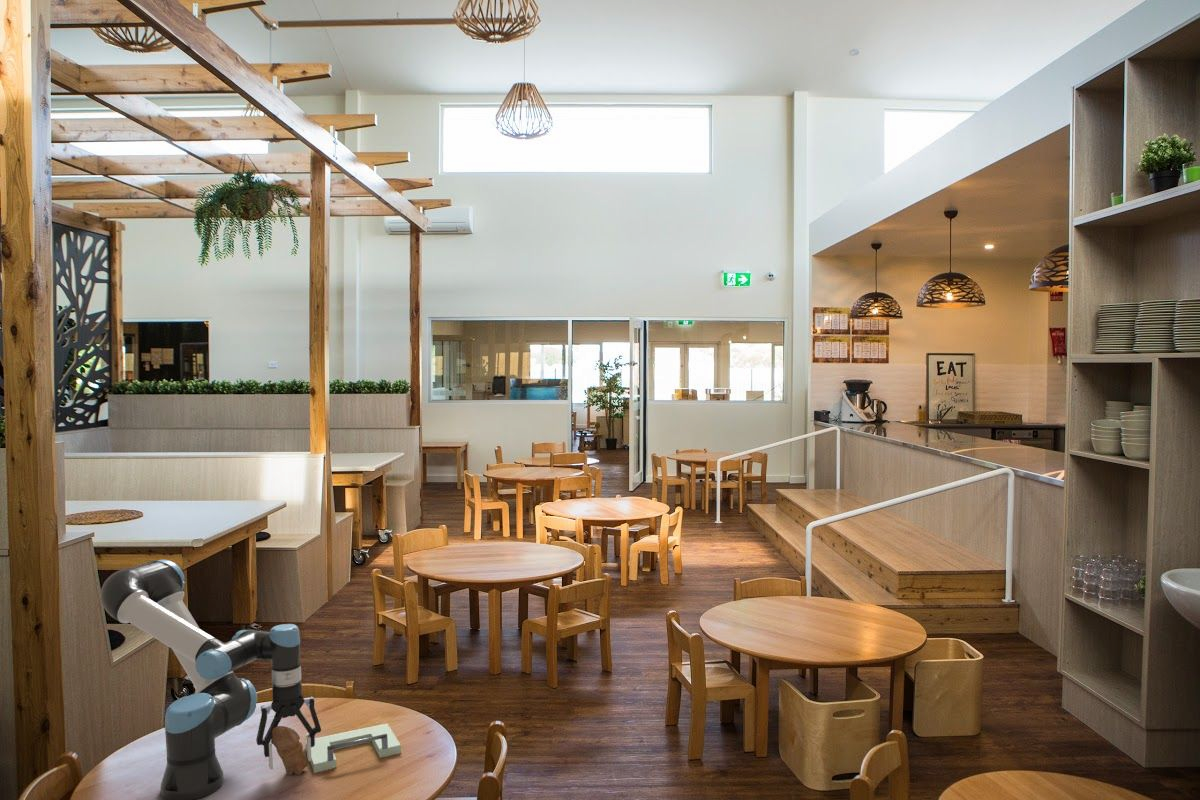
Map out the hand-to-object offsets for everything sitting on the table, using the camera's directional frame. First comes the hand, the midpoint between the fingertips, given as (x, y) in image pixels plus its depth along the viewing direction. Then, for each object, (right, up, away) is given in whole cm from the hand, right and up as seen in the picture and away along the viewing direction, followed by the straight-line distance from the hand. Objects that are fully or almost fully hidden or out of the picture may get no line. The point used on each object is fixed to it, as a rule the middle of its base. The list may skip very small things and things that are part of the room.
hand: (290, 762), depth 230 cm
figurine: (0, -3, 0) cm, 3 cm away
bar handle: (+17, 0, +6) cm, 18 cm away
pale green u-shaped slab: (+13, -2, +14) cm, 19 cm away
